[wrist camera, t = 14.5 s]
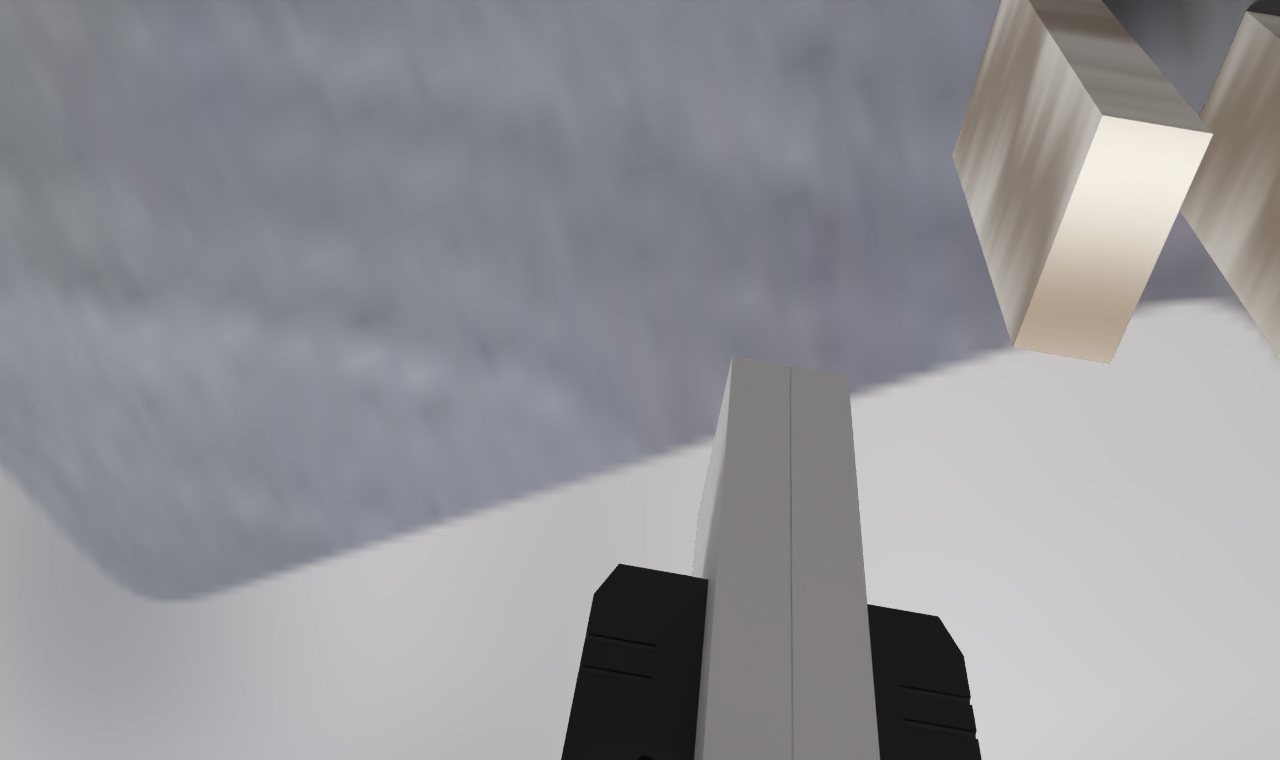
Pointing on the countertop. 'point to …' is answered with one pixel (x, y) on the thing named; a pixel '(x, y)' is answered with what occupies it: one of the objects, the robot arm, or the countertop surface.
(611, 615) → the robot arm
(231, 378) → the countertop surface
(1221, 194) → the domino
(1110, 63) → the domino
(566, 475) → the countertop surface
